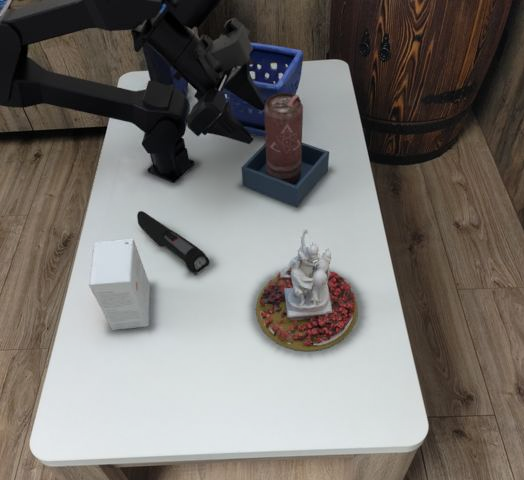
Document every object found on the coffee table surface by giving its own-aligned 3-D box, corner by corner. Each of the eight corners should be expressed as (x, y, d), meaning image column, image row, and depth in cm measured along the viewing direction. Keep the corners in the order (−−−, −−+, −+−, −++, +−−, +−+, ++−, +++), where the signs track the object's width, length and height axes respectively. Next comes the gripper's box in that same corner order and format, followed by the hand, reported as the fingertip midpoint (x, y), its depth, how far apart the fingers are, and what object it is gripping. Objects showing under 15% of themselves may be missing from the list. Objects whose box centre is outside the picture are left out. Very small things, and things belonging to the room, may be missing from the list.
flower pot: (217, 135, 98) (209, 74, 88) (244, 98, 104) (240, 37, 94) (280, 149, 95) (279, 87, 85) (304, 110, 101) (306, 49, 91)
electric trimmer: (152, 218, 86) (148, 204, 84) (212, 263, 80) (209, 249, 77) (135, 230, 85) (130, 216, 82) (194, 277, 78) (190, 263, 76)
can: (308, 173, 90) (312, 98, 78) (286, 192, 87) (286, 117, 76) (282, 160, 92) (282, 85, 80) (260, 178, 90) (256, 103, 78)
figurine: (253, 274, 78) (247, 203, 66) (348, 266, 78) (359, 194, 66) (259, 355, 70) (254, 290, 58) (366, 346, 70) (382, 280, 58)
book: (183, 126, 100) (161, 16, 83) (157, 126, 100) (130, 17, 83) (191, 86, 108) (173, -22, 91) (167, 86, 108) (145, -21, 91)
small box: (115, 289, 78) (93, 240, 69) (151, 285, 78) (133, 236, 69) (111, 331, 73) (87, 285, 65) (149, 327, 73) (130, 281, 65)
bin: (242, 186, 89) (241, 167, 86) (275, 151, 94) (275, 132, 91) (296, 207, 86) (297, 188, 83) (327, 170, 91) (329, 151, 87)
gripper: (195, 44, 64) (280, 131, 72) (231, -20, 74) (303, 62, 81) (151, 98, 72) (232, 170, 80) (189, 33, 82) (258, 103, 89)
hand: (257, 124), depth 82 cm, fingers open, 9 cm apart
